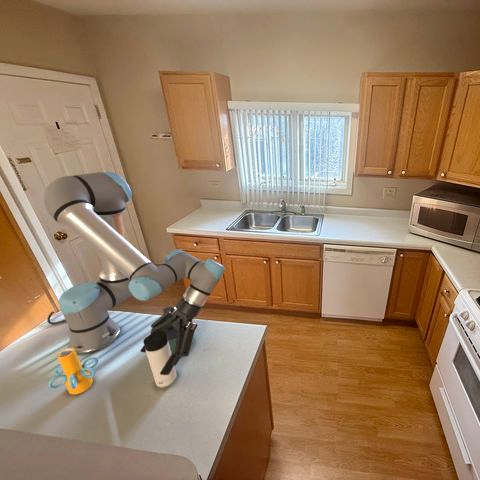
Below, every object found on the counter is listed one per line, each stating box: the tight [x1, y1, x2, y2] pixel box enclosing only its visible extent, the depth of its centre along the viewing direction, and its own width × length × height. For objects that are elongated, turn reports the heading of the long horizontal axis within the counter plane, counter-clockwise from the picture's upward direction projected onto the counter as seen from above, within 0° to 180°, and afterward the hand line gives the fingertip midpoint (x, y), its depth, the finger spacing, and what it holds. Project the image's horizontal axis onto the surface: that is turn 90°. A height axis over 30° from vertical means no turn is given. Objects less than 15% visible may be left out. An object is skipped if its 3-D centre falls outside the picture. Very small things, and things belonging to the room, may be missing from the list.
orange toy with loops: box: [47, 347, 99, 395], centre depth 80 cm, size 12×10×15 cm
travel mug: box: [142, 331, 178, 389], centre depth 83 cm, size 6×7×20 cm
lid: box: [150, 306, 184, 340], centre depth 95 cm, size 13×13×9 cm
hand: (153, 362), depth 81 cm, fingers open, 13 cm apart
